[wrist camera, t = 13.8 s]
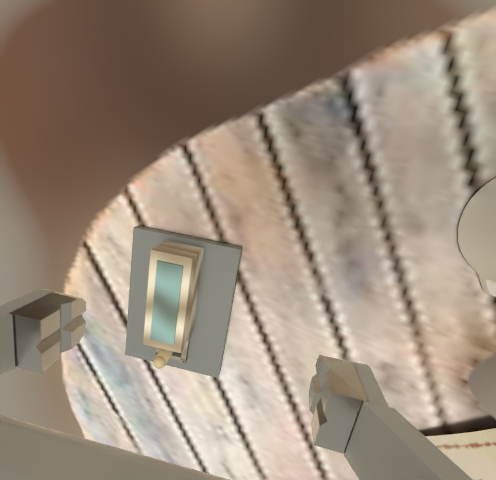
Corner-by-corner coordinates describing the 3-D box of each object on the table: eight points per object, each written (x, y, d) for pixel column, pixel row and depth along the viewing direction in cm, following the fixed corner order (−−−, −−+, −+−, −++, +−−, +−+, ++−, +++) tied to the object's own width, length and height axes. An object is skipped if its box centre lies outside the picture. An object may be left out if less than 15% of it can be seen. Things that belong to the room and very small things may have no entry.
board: (242, 246, 38) (233, 263, 31) (220, 371, 44) (208, 409, 37) (139, 225, 40) (107, 236, 33) (130, 349, 45) (101, 381, 38)
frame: (167, 240, 38) (150, 250, 33) (204, 247, 38) (191, 259, 33) (156, 351, 43) (139, 374, 38) (188, 359, 42) (176, 383, 37)
